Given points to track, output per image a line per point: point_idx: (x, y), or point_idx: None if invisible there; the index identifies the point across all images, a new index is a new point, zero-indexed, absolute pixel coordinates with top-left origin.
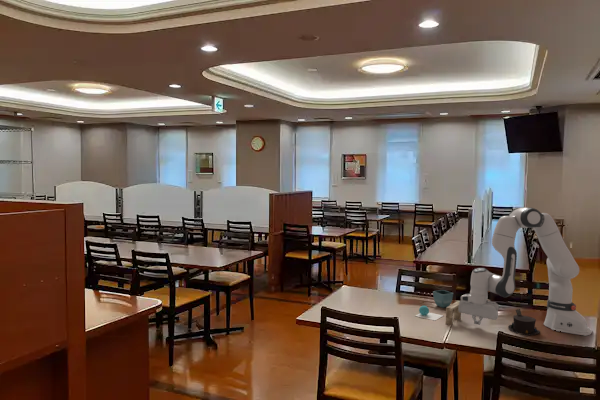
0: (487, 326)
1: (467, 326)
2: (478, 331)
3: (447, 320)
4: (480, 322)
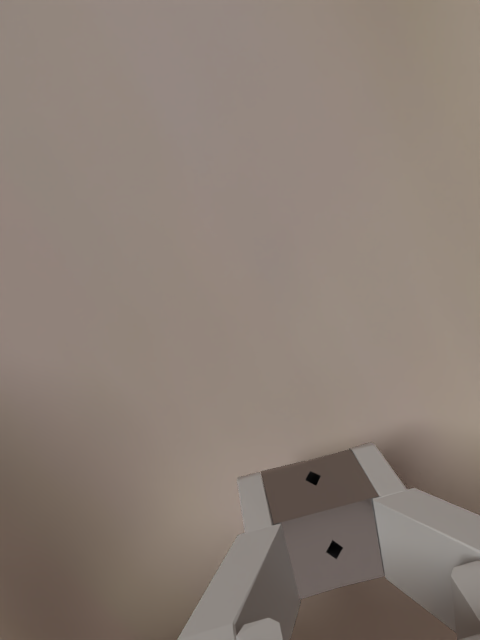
0: (420, 205)
1: (158, 565)
2: None
3: None
4: (389, 469)
